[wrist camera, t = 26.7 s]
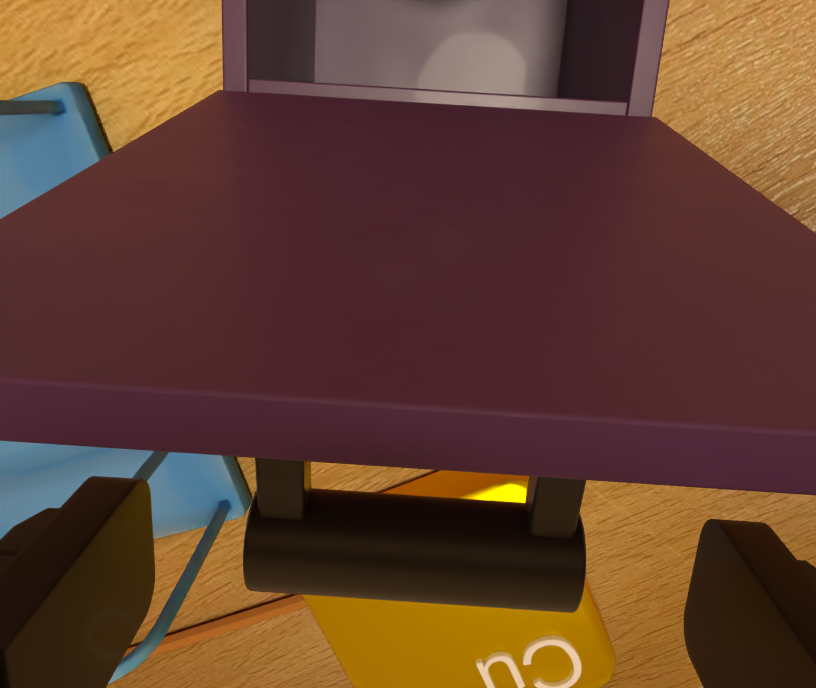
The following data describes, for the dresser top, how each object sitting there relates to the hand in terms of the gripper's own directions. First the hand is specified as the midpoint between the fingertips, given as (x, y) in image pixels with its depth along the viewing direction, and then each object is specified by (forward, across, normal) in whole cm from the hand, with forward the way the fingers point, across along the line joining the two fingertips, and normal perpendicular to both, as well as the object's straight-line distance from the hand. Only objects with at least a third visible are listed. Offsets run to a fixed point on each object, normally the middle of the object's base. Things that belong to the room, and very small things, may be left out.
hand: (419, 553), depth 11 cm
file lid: (+6, 0, -5) cm, 8 cm away
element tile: (+30, -3, +22) cm, 37 cm away
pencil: (+30, +12, +26) cm, 42 cm away
